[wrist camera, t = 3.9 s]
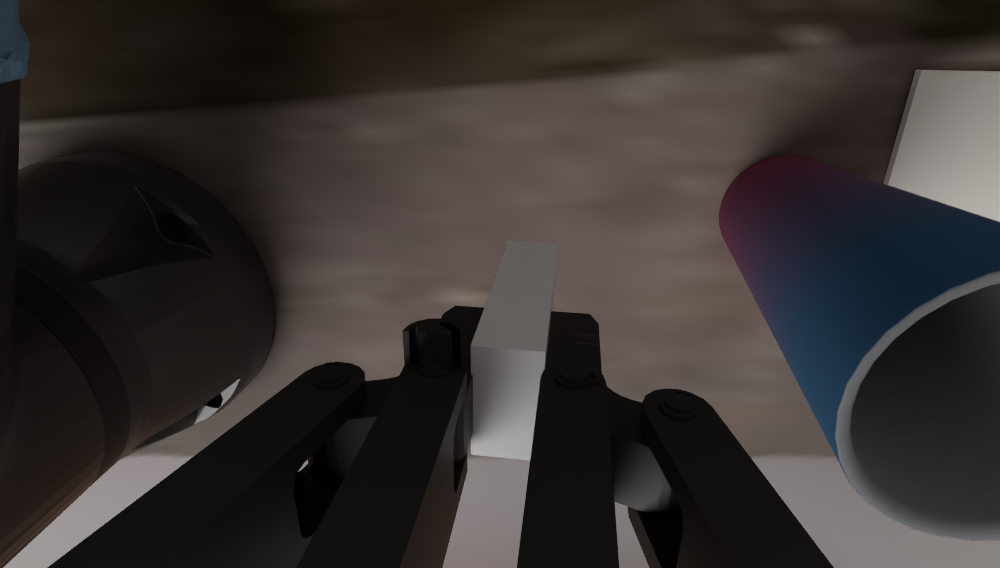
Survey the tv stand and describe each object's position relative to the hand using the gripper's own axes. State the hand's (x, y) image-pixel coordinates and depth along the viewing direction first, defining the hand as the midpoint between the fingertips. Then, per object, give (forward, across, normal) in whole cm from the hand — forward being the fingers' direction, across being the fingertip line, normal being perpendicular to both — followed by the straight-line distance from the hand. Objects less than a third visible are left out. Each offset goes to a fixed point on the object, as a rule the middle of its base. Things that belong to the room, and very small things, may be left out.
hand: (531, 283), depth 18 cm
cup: (+10, +10, 0) cm, 14 cm away
